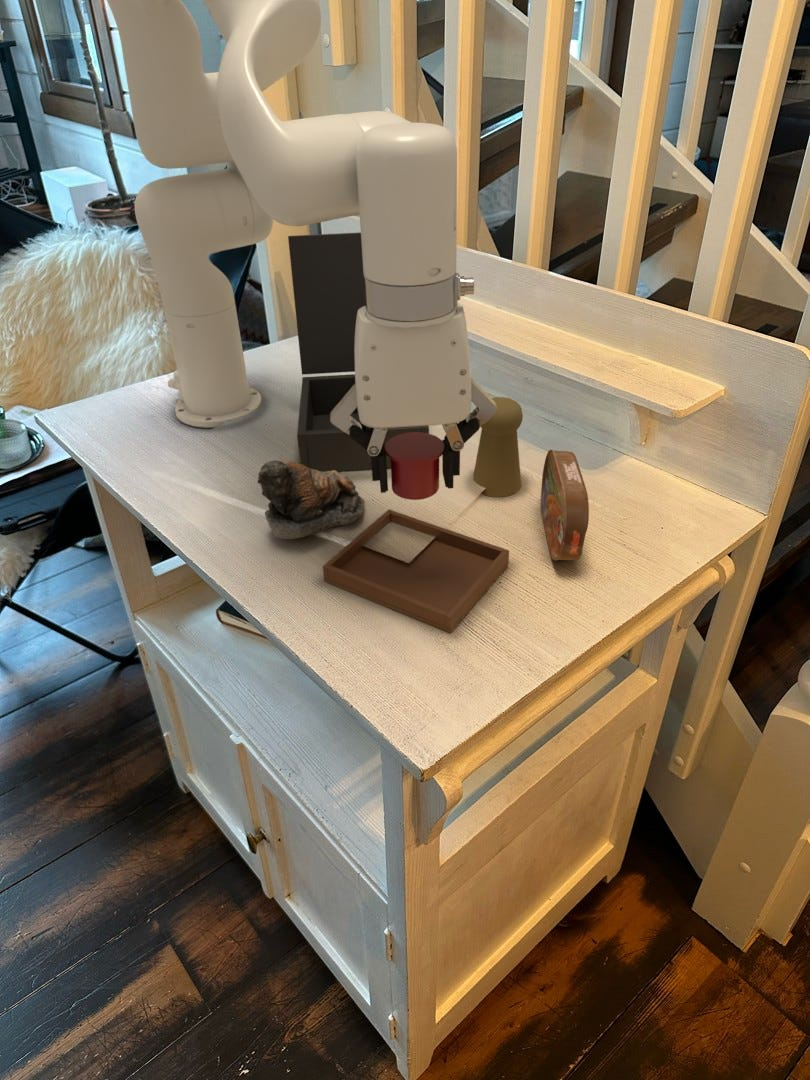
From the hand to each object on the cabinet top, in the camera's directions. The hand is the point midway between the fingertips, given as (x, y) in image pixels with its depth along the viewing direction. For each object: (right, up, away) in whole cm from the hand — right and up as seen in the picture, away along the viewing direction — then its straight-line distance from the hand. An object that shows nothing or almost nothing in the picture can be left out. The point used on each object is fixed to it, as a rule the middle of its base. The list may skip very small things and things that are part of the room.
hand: (415, 481), depth 73 cm
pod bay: (-6, +7, +30) cm, 31 cm away
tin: (+16, -5, +12) cm, 21 cm away
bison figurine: (-11, -5, +14) cm, 18 cm away
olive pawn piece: (+10, +1, +21) cm, 23 cm away
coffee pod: (0, 0, +1) cm, 1 cm away
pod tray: (0, -9, +7) cm, 11 cm away
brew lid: (-8, +26, +28) cm, 39 cm away
